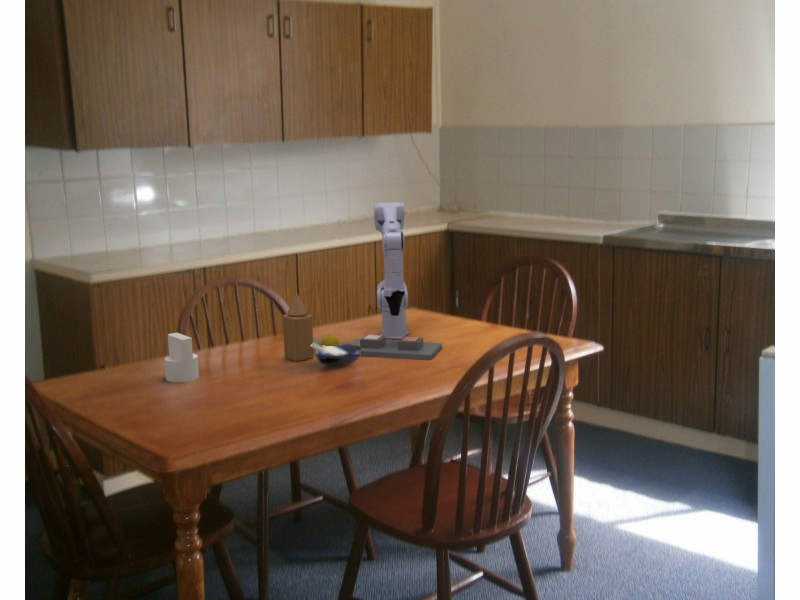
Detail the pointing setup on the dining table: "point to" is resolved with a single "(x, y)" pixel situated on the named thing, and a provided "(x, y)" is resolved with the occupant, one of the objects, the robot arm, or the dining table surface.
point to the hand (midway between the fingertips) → (394, 315)
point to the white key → (373, 337)
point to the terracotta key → (411, 339)
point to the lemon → (330, 340)
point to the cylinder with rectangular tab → (181, 359)
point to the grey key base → (397, 348)
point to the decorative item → (297, 332)
